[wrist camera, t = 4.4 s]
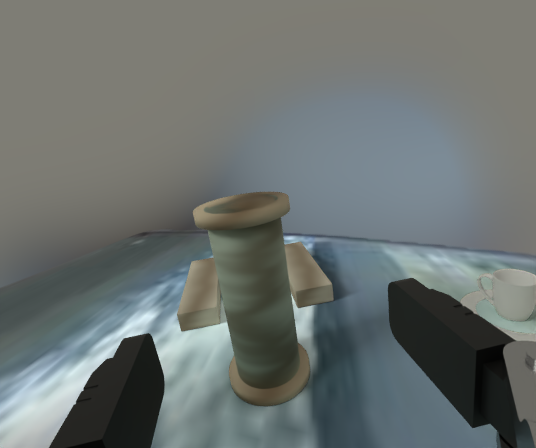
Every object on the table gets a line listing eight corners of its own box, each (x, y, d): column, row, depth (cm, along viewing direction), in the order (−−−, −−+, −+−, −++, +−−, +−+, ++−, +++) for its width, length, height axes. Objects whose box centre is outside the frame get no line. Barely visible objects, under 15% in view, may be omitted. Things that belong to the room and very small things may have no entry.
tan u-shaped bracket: (181, 331, 31) (177, 314, 30) (194, 273, 44) (191, 261, 44) (333, 300, 32) (332, 284, 32) (301, 254, 46) (300, 241, 45)
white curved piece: (614, 333, 23) (624, 287, 22) (544, 369, 21) (552, 320, 20) (498, 286, 31) (502, 250, 30) (439, 308, 29) (440, 271, 28)
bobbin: (231, 415, 21) (187, 224, 17) (229, 352, 27) (197, 201, 23) (320, 394, 21) (298, 204, 17) (299, 337, 27) (279, 187, 23)
